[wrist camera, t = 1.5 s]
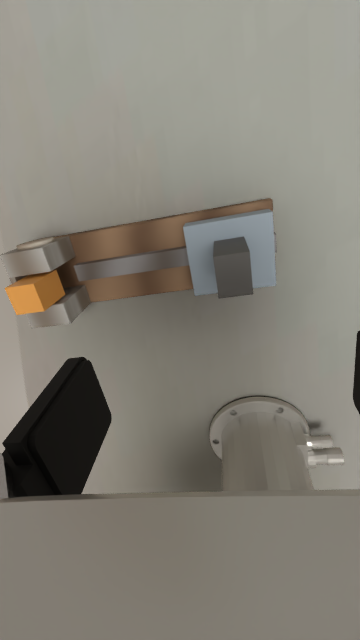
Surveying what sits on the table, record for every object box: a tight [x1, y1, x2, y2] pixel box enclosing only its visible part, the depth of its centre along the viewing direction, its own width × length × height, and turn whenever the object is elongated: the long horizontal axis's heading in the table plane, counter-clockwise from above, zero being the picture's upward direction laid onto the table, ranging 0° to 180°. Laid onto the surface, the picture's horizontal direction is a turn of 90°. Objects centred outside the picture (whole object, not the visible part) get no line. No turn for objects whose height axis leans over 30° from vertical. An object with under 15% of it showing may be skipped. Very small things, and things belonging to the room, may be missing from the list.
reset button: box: [5, 270, 65, 315], centre depth 26 cm, size 3×2×4 cm
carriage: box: [183, 209, 276, 298], centre depth 24 cm, size 7×6×7 cm
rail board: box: [0, 198, 277, 328], centre depth 28 cm, size 23×7×6 cm, turn 100°
